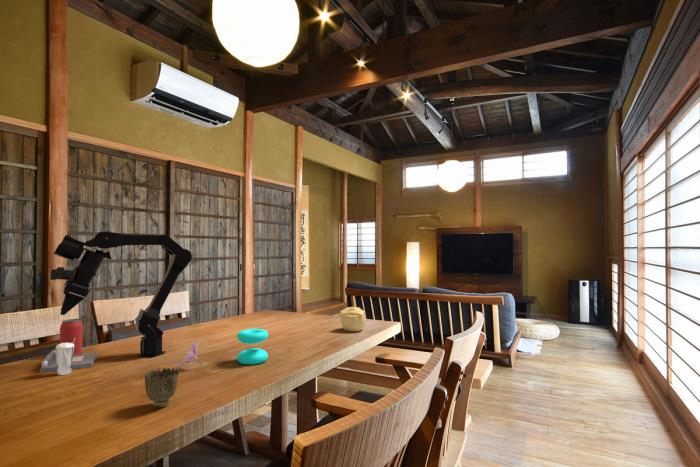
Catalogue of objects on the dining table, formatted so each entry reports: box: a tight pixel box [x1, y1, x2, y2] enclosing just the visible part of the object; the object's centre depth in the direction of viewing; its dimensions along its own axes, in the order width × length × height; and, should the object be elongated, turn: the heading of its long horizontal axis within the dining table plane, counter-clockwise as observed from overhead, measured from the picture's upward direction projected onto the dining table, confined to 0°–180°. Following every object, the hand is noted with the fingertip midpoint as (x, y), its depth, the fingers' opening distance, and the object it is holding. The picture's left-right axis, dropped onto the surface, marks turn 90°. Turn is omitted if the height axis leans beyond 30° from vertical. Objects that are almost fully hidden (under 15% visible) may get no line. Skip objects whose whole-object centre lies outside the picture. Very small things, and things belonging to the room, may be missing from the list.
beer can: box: [59, 318, 84, 354], centre depth 138 cm, size 7×7×12 cm
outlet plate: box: [39, 349, 98, 374], centre depth 127 cm, size 13×15×3 cm
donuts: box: [236, 328, 269, 366], centre depth 131 cm, size 10×10×10 cm
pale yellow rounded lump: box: [339, 306, 367, 332], centre depth 180 cm, size 12×12×11 cm
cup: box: [143, 367, 180, 409], centre depth 94 cm, size 8×7×8 cm
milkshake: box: [55, 338, 76, 376], centre depth 118 cm, size 4×5×10 cm
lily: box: [174, 337, 205, 370], centre depth 122 cm, size 12×12×10 cm
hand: (62, 312), depth 124 cm, fingers open, 9 cm apart
